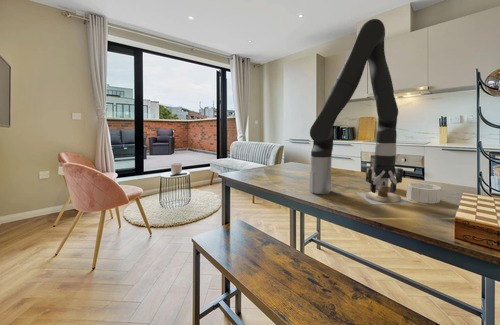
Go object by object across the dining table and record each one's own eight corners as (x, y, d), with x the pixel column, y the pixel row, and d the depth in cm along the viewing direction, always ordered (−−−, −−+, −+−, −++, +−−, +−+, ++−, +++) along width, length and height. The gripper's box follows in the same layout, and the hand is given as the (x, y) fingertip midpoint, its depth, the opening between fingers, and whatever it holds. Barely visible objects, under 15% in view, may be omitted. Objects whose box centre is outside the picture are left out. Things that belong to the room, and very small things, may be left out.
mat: (372, 205, 91) (372, 204, 91) (355, 193, 107) (355, 192, 107) (414, 205, 90) (414, 203, 90) (391, 193, 106) (391, 192, 106)
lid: (374, 202, 92) (375, 190, 91) (360, 193, 105) (360, 182, 104) (407, 202, 92) (408, 190, 91) (389, 193, 104) (390, 182, 104)
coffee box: (368, 185, 121) (370, 155, 119) (381, 185, 120) (383, 155, 117) (374, 190, 112) (376, 157, 110) (388, 190, 111) (390, 157, 108)
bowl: (417, 204, 91) (418, 189, 90) (400, 196, 101) (401, 183, 101) (446, 204, 90) (448, 189, 89) (426, 196, 101) (427, 182, 100)
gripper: (371, 155, 92) (369, 195, 95) (408, 154, 92) (405, 194, 94) (363, 153, 100) (361, 190, 102) (397, 152, 99) (395, 190, 101)
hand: (382, 192), depth 98 cm, fingers open, 7 cm apart
